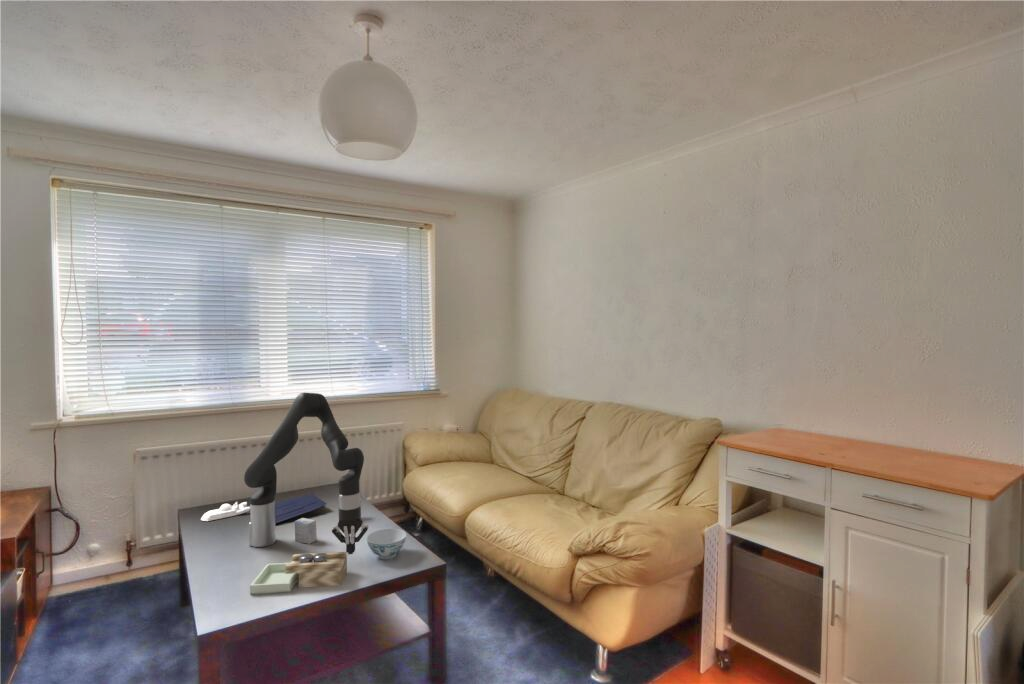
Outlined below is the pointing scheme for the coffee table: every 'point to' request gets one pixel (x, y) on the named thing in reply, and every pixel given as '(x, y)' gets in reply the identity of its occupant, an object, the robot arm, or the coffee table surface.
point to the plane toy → (226, 511)
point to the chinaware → (386, 542)
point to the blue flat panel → (296, 507)
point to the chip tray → (274, 580)
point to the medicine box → (305, 530)
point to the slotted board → (319, 570)
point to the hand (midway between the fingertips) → (351, 553)
